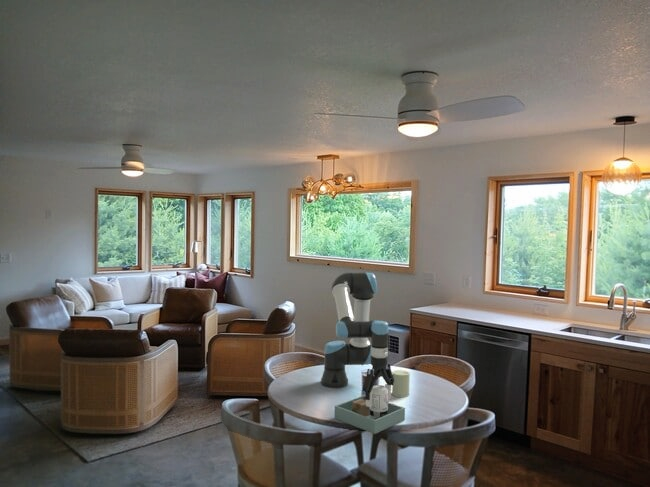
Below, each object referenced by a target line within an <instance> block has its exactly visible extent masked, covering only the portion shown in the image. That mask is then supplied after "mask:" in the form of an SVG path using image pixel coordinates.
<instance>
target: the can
mask: <svg viewBox="0 0 650 487" xmlns="http://www.w3.org/2000/svg"><path fill="white" fill-rule="evenodd" d="M392 375H393V378H394V383H393V385H391V395H392V396H395V397H396V398H408V397H409V396H410V395H411V394H410V381H411V380H410V378H411V376H410V375H411V373H410V371H407V370H402V369H397V370H393V371H392Z"/></svg>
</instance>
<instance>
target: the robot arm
mask: <svg viewBox="0 0 650 487" xmlns="http://www.w3.org/2000/svg"><path fill="white" fill-rule="evenodd" d="M377 294H378V285H377V279H376V275H375V274H374V273H373V272H366V271H365V272H343V273H341V274H339V275H338V276H337V277H336V278H334V280H333V282H332V284H331V295H332V297H334V301H335V306H336V313H337V318H338V321H337V322H336V324H335V335H336V337H337V338H340V339H349V343H346V342H345V340H334V341H332V340H331V341H330V342H326V344H325V345H324V352H323V353H324V369H323V372H322V376H321V379H320V383H321V385H322V386H324V387H327V388H337V389H338V388H344V387H346V386H348V384H349V378H348V376H347V372H346V366H365V365H371V366H372V367H371V369H370V368H368V369H367V371H366V377H365V379H364V382H363V385H362V389H361V391H362V392H364V393H365V395H366V396H365V398H366V406H367V407H370V408H371V407H372V392H371V390H372V388H373V386H374V385H375V384H376V381H377V380H379V378H380V377H382V379H383V380H384V382H385V384H384V386H385V387H387V390H388V401H389V400H391V397H392V396H391V395H392V385H393V383H394V378H393V373H392V372H393V371H392V369H391V368H392V366H391V364H390V363H388V362H389V361H388V360H389V357H388V355H389V353H388V352H389V350H388V349H389V331H390V329H389V323H388V322H387V321H384V320H375V319H371V320H370V311H371V300H373V299H374V295H377ZM350 295H351V297H352V298H353V299H354V306H352V301H351V298H350ZM369 339H371V340H369Z"/></svg>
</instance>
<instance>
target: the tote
mask: <svg viewBox="0 0 650 487" xmlns="http://www.w3.org/2000/svg"><path fill="white" fill-rule="evenodd" d="M365 396H366V394H363V395H361V396H359V397H356V398H352V399H349V400H348V401H345V402H342V403H339V404H337V405H335V406H334V419H335V418H336V420H338V419H339V420H338V421H341V422H343V423H345V424H348V425H351V426H353V427H355V428H358V429H361V430H363V431H366V432H369V433H371V434H373V435H376V434H378V433H380V432H382V431H384V430H386V429H389V428H391V427H394V426H395V425H397V424H399V423H401V422H403V421H405V420H406V416H405V415H406V407H403V406H400V405H397V404H394V403H391V402H388V414H387V415H385V416H383V417H380V418H378V419H376V420H374V419H371V418H369V416H367V417H365V416H363V415H360V414H357V413H355V412H352V402H353V401H356V400H359V399H363V400H366V398H365Z"/></svg>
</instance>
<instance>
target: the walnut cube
mask: <svg viewBox="0 0 650 487" xmlns="http://www.w3.org/2000/svg"><path fill="white" fill-rule="evenodd" d="M352 412H355V413H357V414H360V415H363V416H365V417H367V416H369V413H370V407H367V406H366V400H363V399H359V400H356V401H353V402H352Z"/></svg>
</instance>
